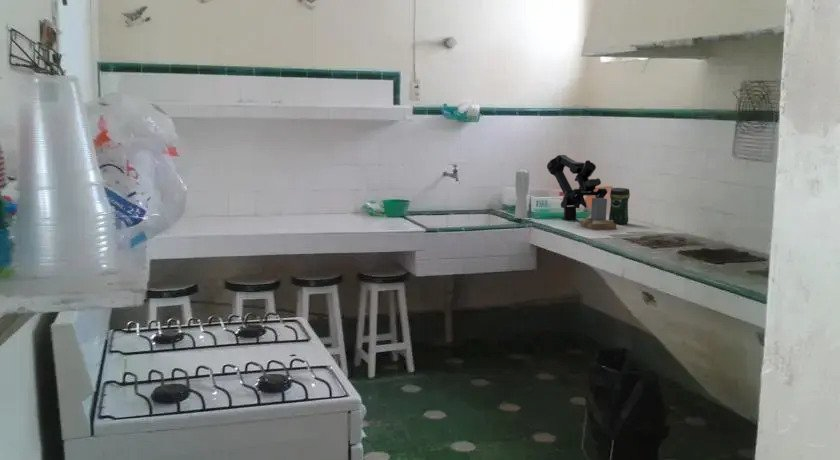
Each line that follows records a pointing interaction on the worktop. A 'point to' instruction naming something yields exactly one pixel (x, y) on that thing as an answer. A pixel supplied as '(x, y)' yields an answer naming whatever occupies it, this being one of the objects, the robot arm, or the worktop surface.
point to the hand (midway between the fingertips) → (594, 207)
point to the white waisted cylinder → (522, 194)
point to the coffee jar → (619, 205)
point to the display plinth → (598, 224)
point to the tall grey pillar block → (598, 209)
